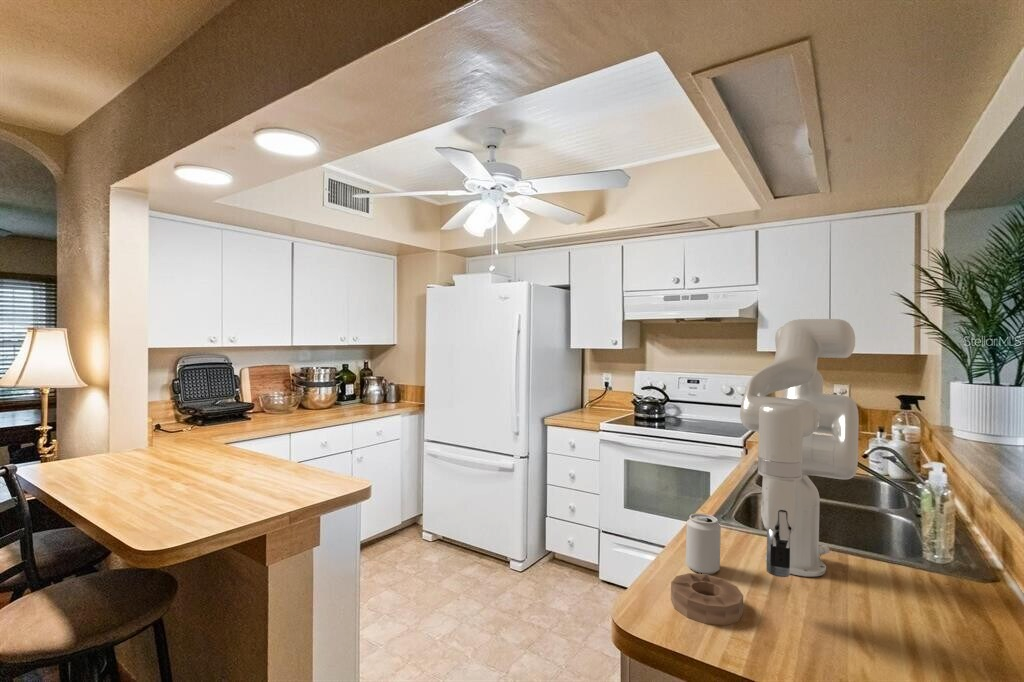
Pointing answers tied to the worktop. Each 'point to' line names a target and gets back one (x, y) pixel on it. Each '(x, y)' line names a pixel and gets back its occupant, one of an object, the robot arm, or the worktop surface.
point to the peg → (770, 569)
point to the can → (703, 543)
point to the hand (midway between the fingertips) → (778, 560)
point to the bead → (707, 599)
